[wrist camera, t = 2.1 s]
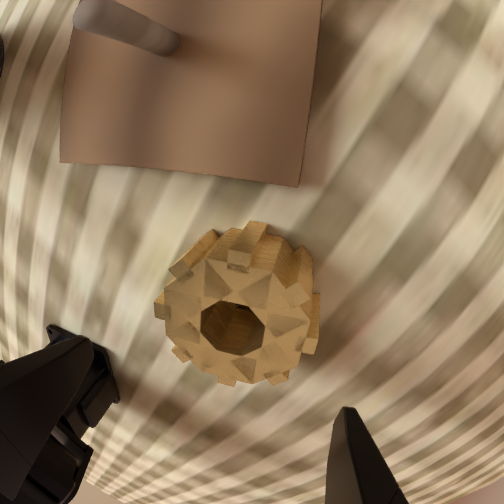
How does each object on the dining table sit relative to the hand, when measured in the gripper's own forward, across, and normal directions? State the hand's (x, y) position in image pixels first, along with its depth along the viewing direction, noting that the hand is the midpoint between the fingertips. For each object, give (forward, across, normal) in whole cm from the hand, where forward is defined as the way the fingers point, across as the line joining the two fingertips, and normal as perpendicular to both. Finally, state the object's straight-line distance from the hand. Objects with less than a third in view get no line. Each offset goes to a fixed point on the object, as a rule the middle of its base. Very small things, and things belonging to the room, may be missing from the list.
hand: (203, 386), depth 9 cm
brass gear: (+7, 0, 0) cm, 7 cm away
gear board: (+7, +4, -14) cm, 16 cm away
